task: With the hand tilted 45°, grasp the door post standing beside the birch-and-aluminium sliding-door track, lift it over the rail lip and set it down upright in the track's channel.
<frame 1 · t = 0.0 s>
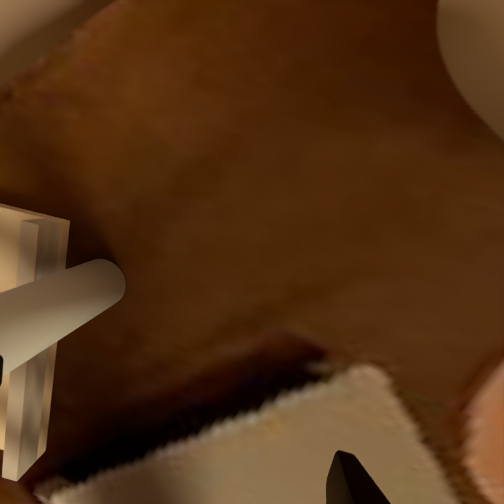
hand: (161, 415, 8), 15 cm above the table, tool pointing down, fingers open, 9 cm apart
sliding track: (12, 332, 26), on the table
door post: (102, 282, 24), on the table
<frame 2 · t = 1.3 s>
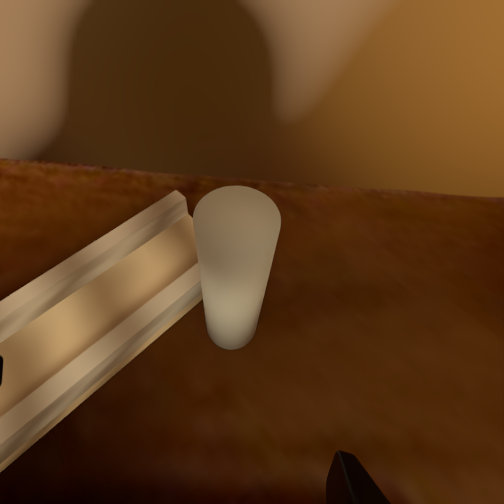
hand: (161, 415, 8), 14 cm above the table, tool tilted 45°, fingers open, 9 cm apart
sliding track: (105, 317, 23), on the table
door post: (231, 324, 24), on the table
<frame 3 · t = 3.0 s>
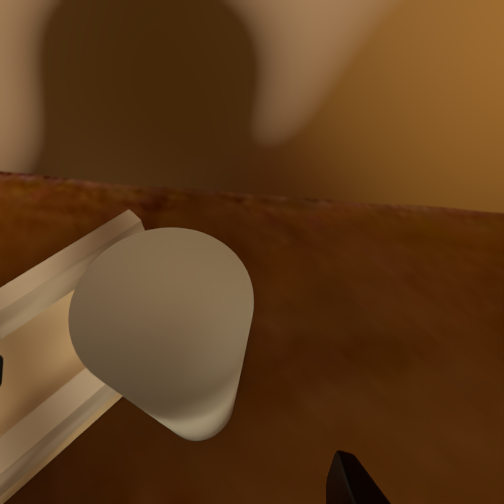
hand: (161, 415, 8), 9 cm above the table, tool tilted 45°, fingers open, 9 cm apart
sliding track: (20, 392, 17), on the table
door post: (199, 401, 17), on the table
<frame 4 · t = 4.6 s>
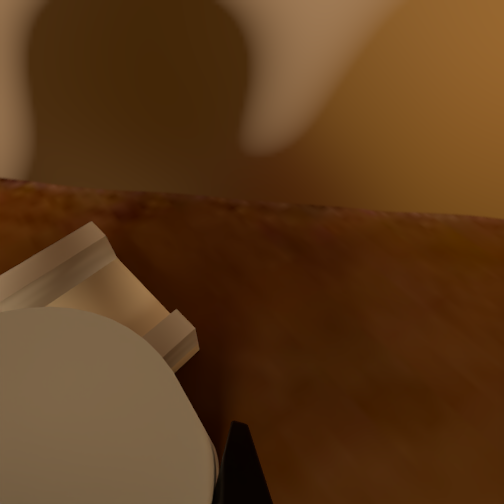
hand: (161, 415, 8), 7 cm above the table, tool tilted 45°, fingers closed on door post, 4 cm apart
door post: (174, 472, 13), on the table, touching gripper
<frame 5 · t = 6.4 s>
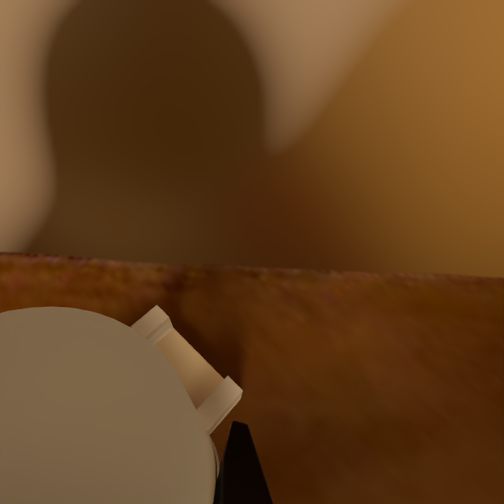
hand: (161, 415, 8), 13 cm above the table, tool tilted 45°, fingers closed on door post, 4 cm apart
sliding track: (65, 492, 18), on the table
door post: (174, 472, 13), point 7 cm above the table, touching gripper
when the fingers open (8 cm above the table, at t = 8.2 s): door post stays where it is, resting on sliding track.
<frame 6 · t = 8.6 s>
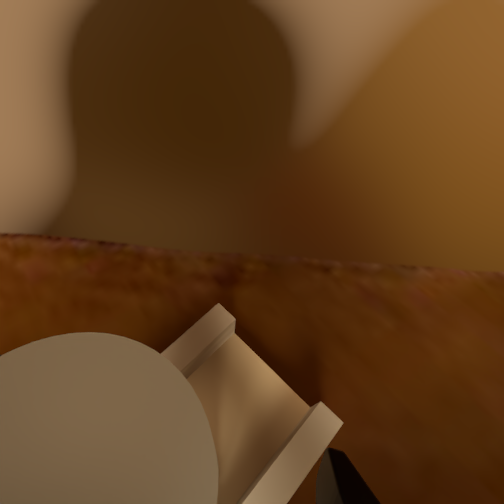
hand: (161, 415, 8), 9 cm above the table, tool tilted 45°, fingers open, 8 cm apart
door post: (176, 473, 14), point 1 cm above the table, touching sliding track
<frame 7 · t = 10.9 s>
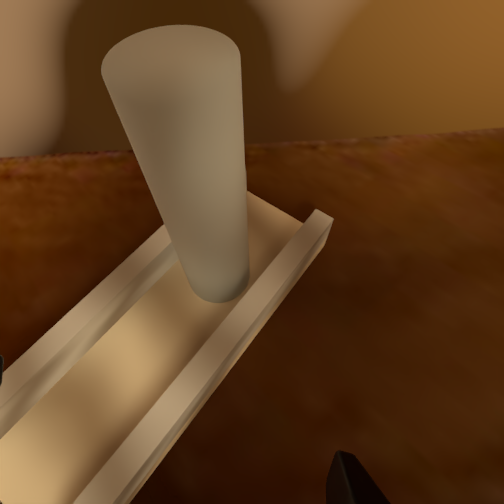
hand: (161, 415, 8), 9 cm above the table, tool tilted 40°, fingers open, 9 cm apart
sliding track: (176, 331, 19), on the table
door post: (219, 274, 19), point 1 cm above the table, touching sliding track
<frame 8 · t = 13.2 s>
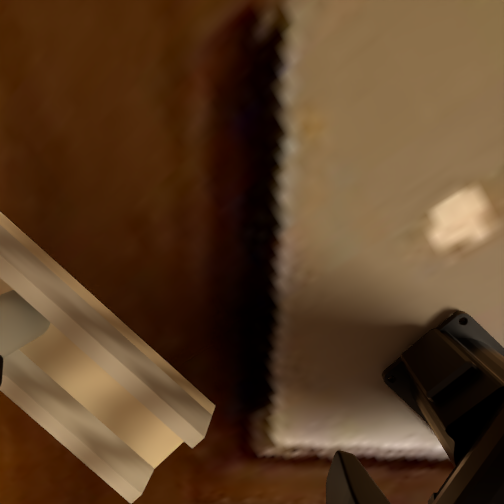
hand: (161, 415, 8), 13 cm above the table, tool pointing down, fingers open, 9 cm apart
sliding track: (78, 345, 23), on the table
door post: (26, 313, 22), point 1 cm above the table, touching sliding track
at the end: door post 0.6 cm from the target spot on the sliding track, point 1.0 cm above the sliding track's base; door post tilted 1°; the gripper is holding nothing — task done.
